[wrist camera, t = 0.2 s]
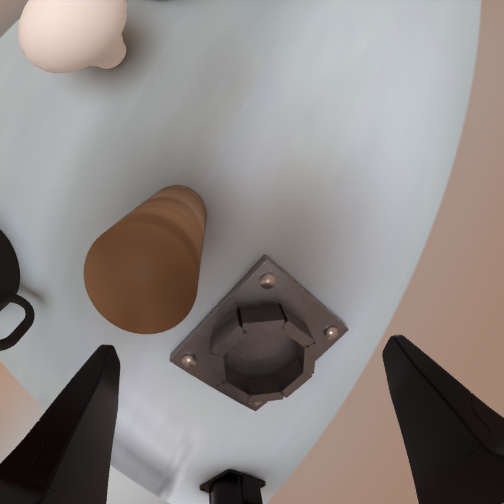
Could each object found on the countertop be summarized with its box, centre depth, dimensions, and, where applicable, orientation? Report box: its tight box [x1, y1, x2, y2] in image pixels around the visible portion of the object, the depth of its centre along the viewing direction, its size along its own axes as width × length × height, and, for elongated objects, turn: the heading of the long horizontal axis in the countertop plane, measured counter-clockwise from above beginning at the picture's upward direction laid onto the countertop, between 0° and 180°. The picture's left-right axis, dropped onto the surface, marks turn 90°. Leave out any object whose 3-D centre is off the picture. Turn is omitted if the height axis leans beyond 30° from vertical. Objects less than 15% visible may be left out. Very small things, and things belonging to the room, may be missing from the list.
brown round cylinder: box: [84, 185, 206, 334], centre depth 17 cm, size 4×4×12 cm
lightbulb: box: [18, 0, 127, 73], centre depth 13 cm, size 6×6×11 cm
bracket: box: [170, 255, 349, 411], centre depth 25 cm, size 12×10×4 cm
